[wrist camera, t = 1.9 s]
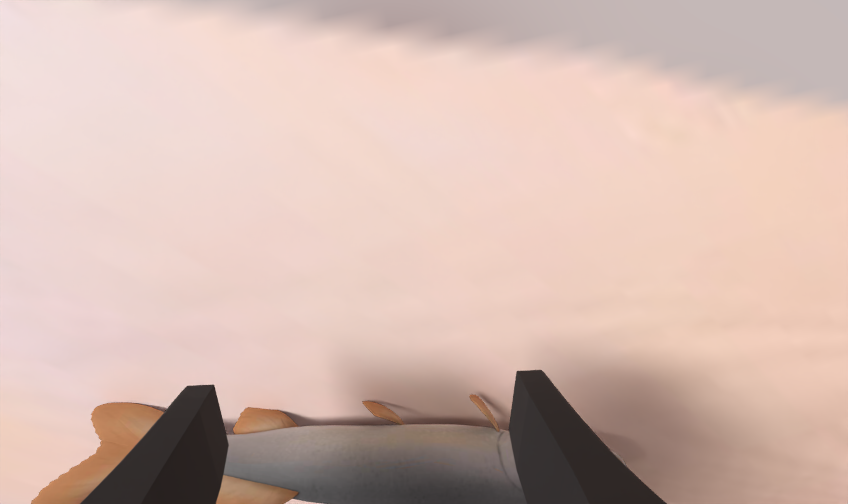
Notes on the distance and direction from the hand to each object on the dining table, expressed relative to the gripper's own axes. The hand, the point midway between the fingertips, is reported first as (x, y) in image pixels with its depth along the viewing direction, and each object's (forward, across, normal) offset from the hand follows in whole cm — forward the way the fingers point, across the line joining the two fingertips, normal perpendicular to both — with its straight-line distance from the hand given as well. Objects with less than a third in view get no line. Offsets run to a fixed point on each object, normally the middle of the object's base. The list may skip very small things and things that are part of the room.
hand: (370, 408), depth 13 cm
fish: (+7, 0, +7) cm, 10 cm away
